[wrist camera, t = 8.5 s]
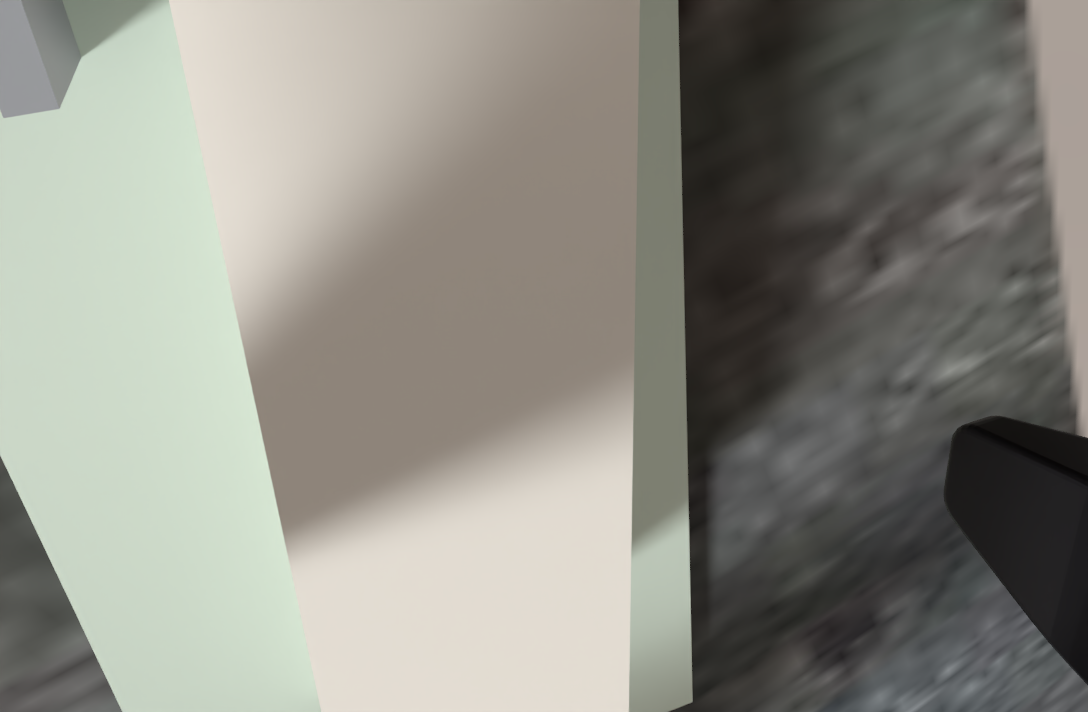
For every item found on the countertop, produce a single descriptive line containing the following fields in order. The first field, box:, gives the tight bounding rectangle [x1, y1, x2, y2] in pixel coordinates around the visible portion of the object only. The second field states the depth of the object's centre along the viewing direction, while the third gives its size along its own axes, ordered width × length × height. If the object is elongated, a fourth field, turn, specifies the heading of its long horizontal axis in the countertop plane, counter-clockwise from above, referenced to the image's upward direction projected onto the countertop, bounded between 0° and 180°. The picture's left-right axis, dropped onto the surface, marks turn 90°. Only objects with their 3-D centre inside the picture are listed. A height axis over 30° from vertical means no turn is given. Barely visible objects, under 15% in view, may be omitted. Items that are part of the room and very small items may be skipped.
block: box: [169, 0, 640, 712], centre depth 12 cm, size 16×4×6 cm, turn 2°
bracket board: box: [0, 0, 693, 712], centre depth 13 cm, size 24×11×4 cm, turn 6°
